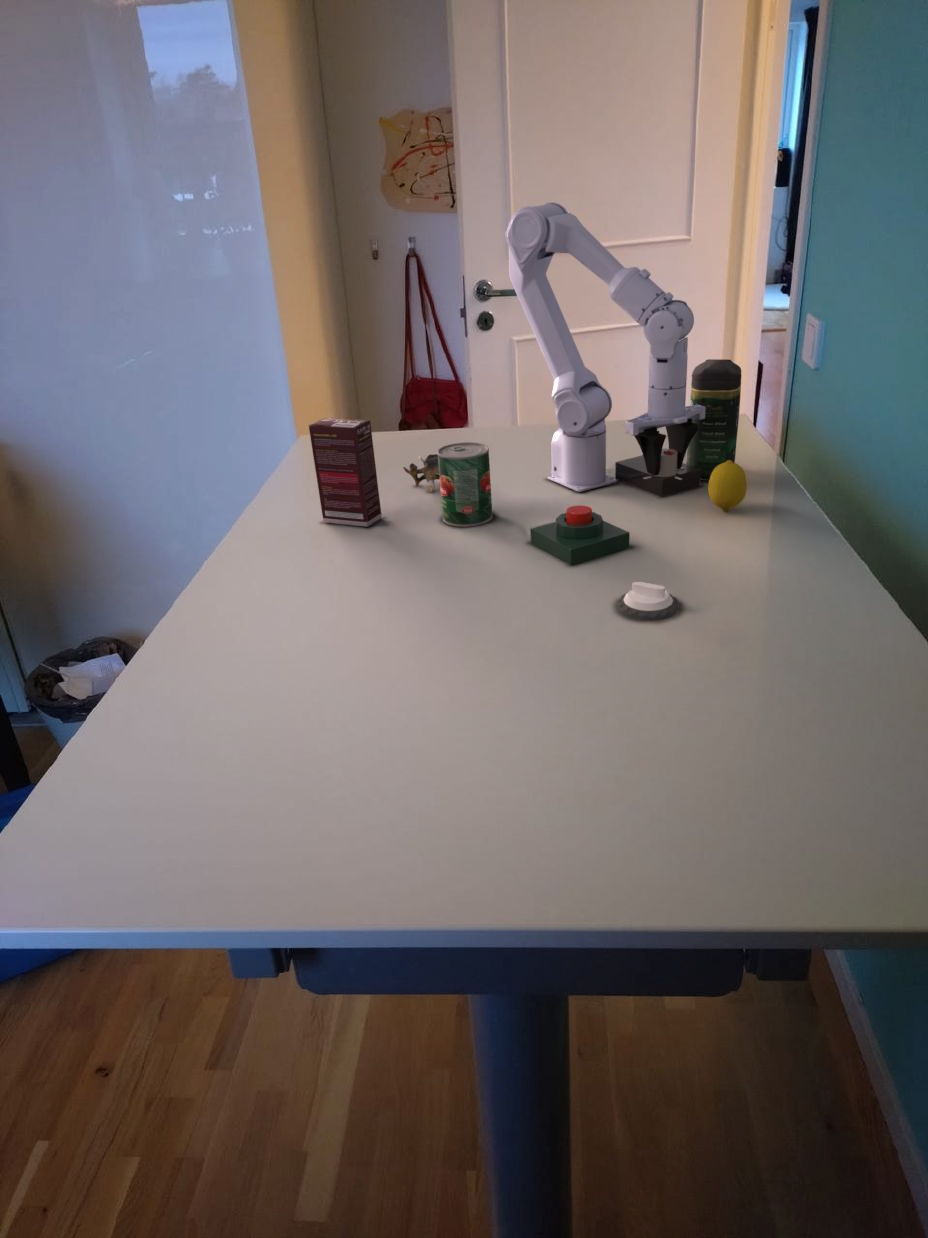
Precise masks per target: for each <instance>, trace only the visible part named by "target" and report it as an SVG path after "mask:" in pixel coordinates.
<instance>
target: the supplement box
mask: <svg viewBox="0 0 928 1238" xmlns="http://www.w3.org/2000/svg"><path fill="white" fill-rule="evenodd" d="M308 430H309V431H308V432H309V438H310V443H311V451H312V456H313V457H312V458H313V463H314V469H315V476H316V481H317V488H318V489H317V490H318V495H319V496H318V497H319V503H320V509H321V516H322V521H323V523H326V524H336V525H346V526H356V527H366V528H368V527H370V526H371V525H373V524H375V523H376V522H377V521H379V520H380V519H382V509H381V499H380V493H379V484H378V475H377V467H376V458H375V450H374V441H373V432H372V425H371V420H369V419H349V418H332V417H331V418H328V417H324V418H321V419H319V420H317V421H315V422H312V423H311V424H309V425H308Z"/></svg>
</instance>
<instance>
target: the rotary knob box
mask: <svg viewBox="0 0 928 1238" xmlns="http://www.w3.org/2000/svg"><path fill="white" fill-rule="evenodd" d="M614 469H615V470H614V471H615V473H614V474H615V475H614V476H615V478H614V479H616V480H617V481H619V482H622V483H624V484H627V485H630V486H631V487H635V488H638V489H641V490H643V491H645V492H648V493H650V494H652V495H656V496H658V497H660V498H664V497H668V496H671V495H675V494H679V493H682V492H685V491H688V490H692V489H696V488H700V487H701V479H700V476H701V469H699V468H696V467H693V466H690V465H687V463H684V462H683V463H682V466H681V469H677V474H676V475H674V476H671V477H657V476H654V475H652V474H650V473H647V469H646V464H645V460H644V456H643V454H642V455H638V456H635V457H631V458H626V459H623V460H622V459H621V460H618V461H615V468H614Z"/></svg>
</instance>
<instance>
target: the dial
mask: <svg viewBox="0 0 928 1238" xmlns="http://www.w3.org/2000/svg"><path fill="white" fill-rule="evenodd" d="M677 457H678V452H677V451H676V450H673V449H669V448H662V452H661V461H660V471H659V475H654V476H657V477H671V476H674V475H676V474H677Z"/></svg>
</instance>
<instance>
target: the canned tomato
mask: <svg viewBox="0 0 928 1238" xmlns="http://www.w3.org/2000/svg"><path fill="white" fill-rule="evenodd" d="M489 451H490V447H489V446H488V445H487V444H484V443H481V442H468V441H467V442H463V441H462V442H455V443H450V444H447V445H444V446H441V447H439V448H438V449H437V451H436V454H438V464H439V476H440V480H439V485H440V487H439V488H440V499H441V511H442V521H443V522H444V523H445V524H446V525H449V526H452V527H458V528H469V527H470V528H471V527H476V526H477V527H478V526H481V525H484V524H486V523H489V522H490V521H491V520H492V519H493V517H494V514H493V502H492V500H493V499H492V487H491V486H492V484H491V469H490V468H491V466H490V453H489Z"/></svg>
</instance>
